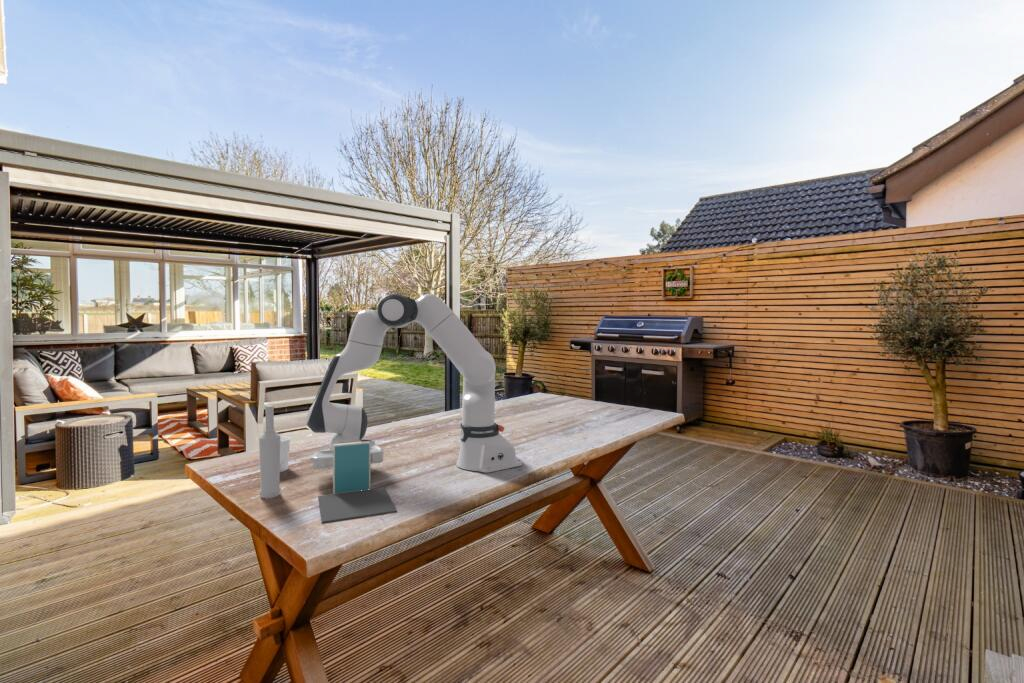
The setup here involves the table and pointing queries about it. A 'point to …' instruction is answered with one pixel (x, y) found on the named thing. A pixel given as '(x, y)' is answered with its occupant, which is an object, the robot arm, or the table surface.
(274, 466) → the bottle
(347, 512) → the mat
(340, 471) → the tile
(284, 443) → the white cup
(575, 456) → the table surface
